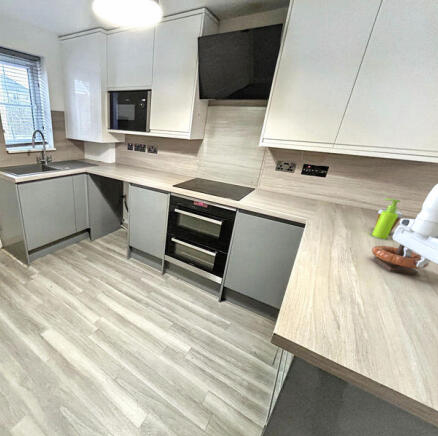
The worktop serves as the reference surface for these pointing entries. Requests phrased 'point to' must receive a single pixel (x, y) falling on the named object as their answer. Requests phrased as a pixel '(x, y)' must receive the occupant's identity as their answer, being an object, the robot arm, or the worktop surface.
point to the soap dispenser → (386, 220)
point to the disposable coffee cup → (395, 220)
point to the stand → (394, 267)
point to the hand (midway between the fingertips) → (412, 262)
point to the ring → (396, 257)
